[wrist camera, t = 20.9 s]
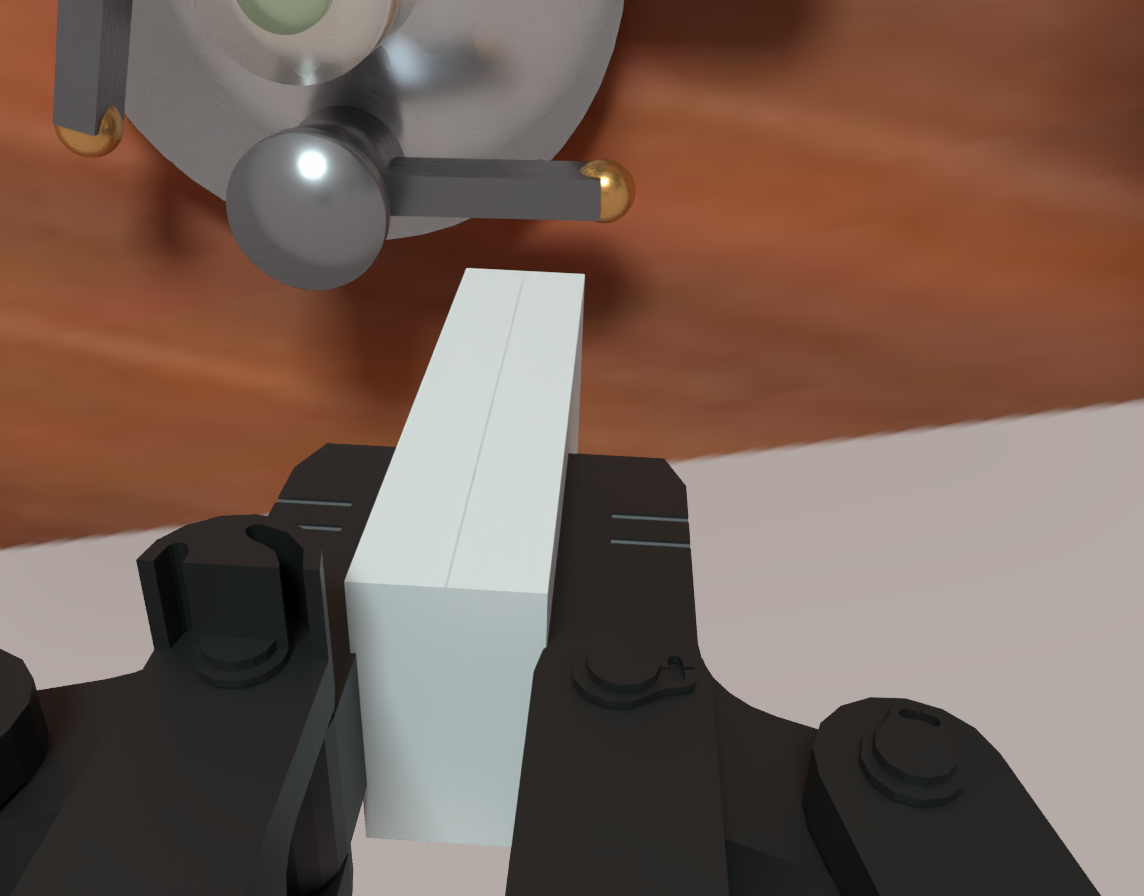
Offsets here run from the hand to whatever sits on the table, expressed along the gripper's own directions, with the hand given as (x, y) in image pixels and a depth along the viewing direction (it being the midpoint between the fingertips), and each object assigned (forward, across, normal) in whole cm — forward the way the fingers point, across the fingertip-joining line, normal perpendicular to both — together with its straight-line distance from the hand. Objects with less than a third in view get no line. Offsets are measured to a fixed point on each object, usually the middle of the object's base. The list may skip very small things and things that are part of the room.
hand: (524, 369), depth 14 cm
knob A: (+27, -5, -5) cm, 28 cm away
